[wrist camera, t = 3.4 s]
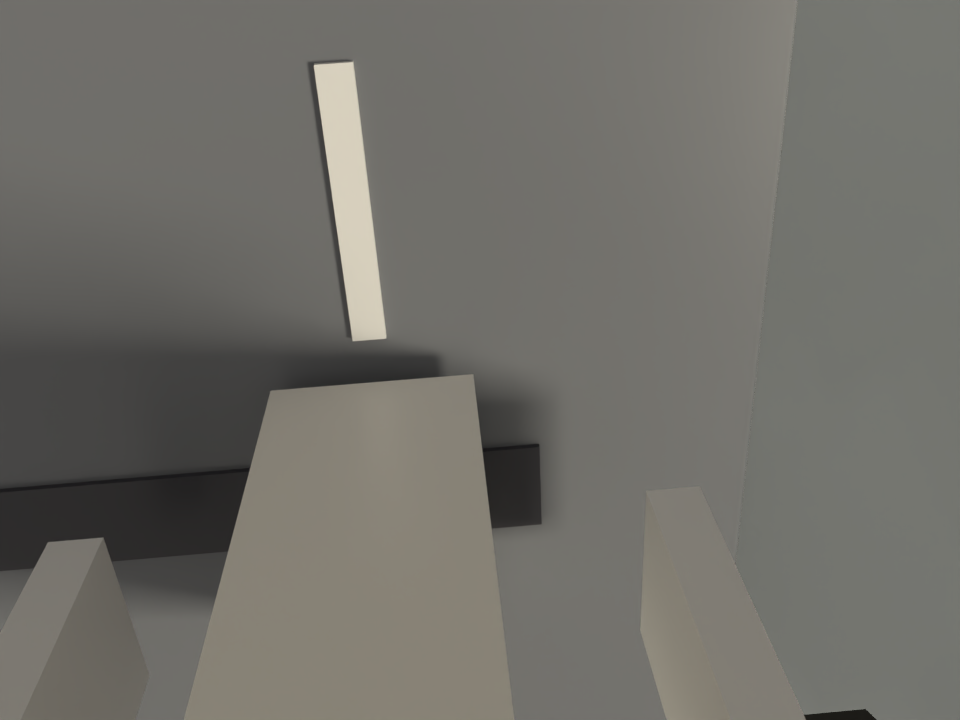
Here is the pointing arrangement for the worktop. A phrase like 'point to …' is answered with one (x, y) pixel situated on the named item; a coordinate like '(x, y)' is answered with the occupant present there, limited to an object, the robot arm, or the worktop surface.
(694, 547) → the robot arm
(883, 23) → the worktop surface
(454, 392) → the fader knob
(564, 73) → the fader panel
